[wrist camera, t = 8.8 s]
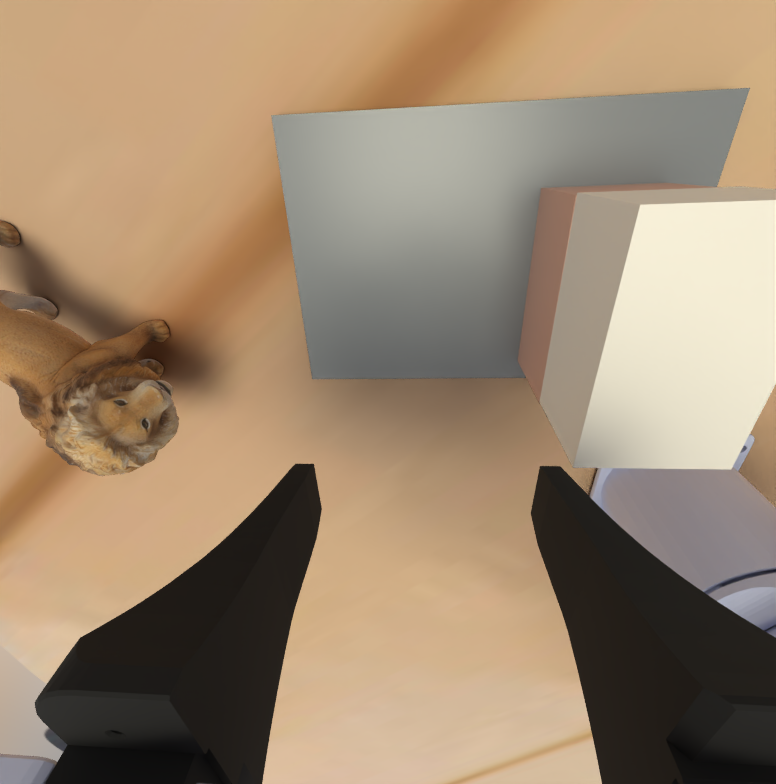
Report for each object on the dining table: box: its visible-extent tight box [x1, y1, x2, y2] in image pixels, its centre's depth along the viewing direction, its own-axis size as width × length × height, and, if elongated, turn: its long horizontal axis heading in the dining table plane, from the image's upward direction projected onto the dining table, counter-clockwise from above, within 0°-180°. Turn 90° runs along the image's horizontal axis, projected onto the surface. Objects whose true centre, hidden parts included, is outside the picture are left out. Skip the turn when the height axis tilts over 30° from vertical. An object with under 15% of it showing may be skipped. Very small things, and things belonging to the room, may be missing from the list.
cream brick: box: [540, 186, 776, 470], centre depth 13 cm, size 8×5×4 cm, turn 2°
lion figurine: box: [0, 221, 179, 476], centre depth 18 cm, size 15×5×9 cm, turn 60°
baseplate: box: [271, 88, 750, 379], centre depth 19 cm, size 12×18×1 cm, turn 92°
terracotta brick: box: [518, 183, 713, 404], centre depth 17 cm, size 8×5×4 cm, turn 2°
